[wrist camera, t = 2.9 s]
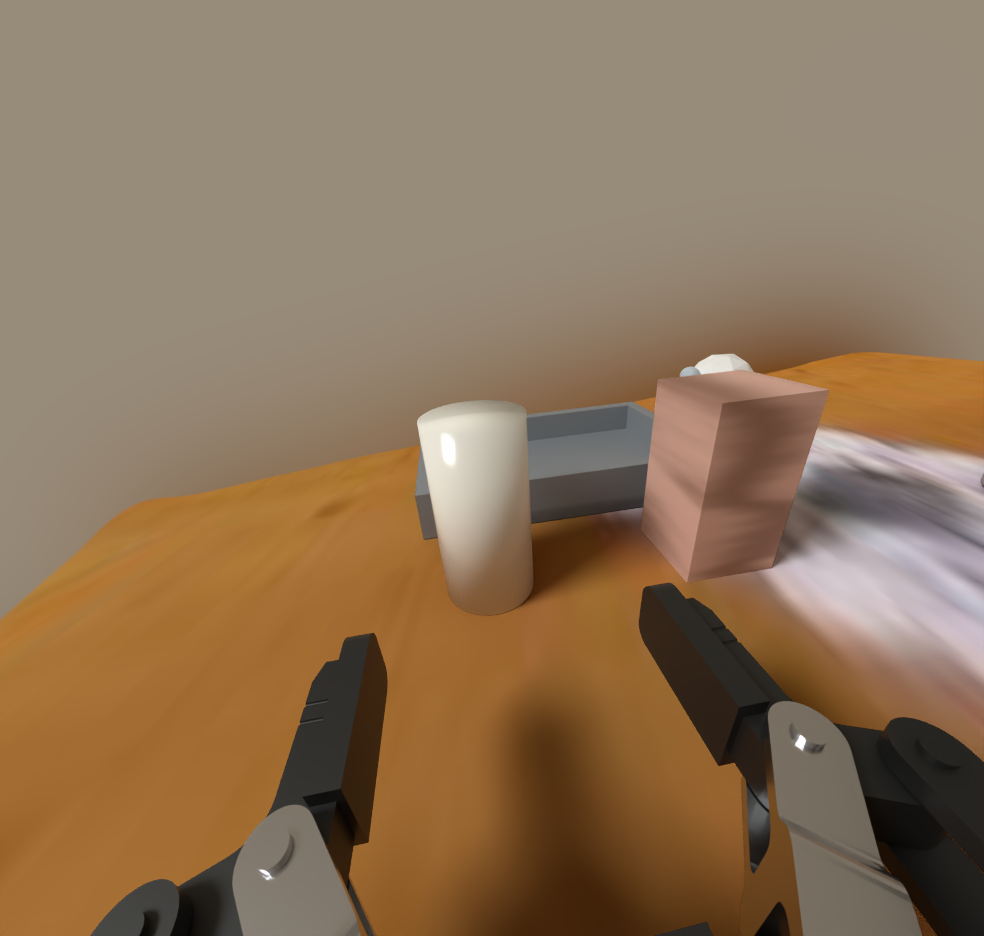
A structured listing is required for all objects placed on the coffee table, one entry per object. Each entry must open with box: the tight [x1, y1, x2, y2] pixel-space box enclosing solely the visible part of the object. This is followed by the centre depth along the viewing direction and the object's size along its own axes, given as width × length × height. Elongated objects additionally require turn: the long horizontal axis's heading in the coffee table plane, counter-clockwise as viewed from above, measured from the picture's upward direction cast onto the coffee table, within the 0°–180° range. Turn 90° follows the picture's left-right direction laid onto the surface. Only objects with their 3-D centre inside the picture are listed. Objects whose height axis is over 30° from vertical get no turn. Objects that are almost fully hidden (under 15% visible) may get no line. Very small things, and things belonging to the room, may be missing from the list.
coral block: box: [641, 370, 829, 582], centre depth 20 cm, size 5×5×10 cm
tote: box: [415, 402, 654, 539], centre depth 32 cm, size 22×14×4 cm, turn 98°
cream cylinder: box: [417, 400, 534, 615], centre depth 19 cm, size 5×5×10 cm
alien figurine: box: [680, 354, 753, 377], centre depth 42 cm, size 7×7×12 cm
